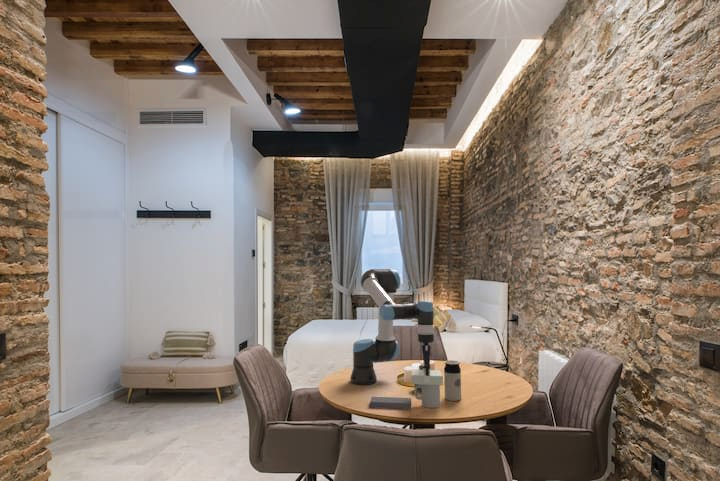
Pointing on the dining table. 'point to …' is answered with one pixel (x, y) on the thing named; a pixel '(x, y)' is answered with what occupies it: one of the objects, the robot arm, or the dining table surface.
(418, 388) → the mortar and pestle
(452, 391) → the travel mug
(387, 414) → the dining table surface
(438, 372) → the lid
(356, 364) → the robot arm
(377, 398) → the mat
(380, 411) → the dining table surface
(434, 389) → the mug
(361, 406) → the dining table surface
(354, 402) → the dining table surface
